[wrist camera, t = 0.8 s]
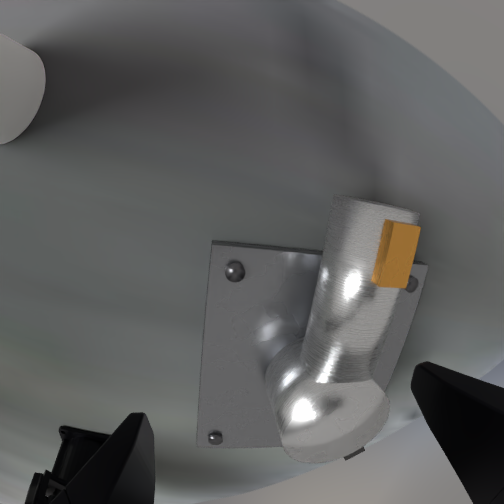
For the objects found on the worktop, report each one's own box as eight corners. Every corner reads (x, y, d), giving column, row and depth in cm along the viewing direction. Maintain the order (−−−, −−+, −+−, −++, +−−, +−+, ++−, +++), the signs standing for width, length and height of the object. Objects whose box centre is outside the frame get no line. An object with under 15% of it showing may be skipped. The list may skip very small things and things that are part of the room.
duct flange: (196, 441, 25) (197, 470, 21) (212, 240, 20) (213, 256, 17) (358, 432, 27) (370, 455, 24) (421, 261, 23) (447, 276, 19)
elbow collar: (340, 404, 24) (369, 457, 18) (257, 408, 23) (273, 471, 17) (396, 204, 19) (460, 224, 14) (298, 187, 18) (342, 201, 12)
